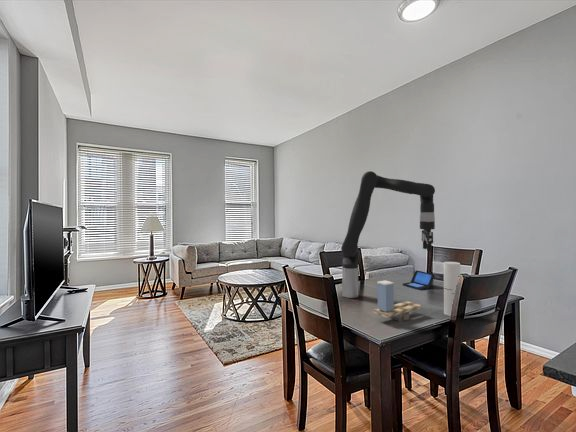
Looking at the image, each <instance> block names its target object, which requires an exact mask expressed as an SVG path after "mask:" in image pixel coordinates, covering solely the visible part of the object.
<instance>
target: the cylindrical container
mask: <svg viewBox="0 0 576 432" xmlns="http://www.w3.org/2000/svg"><path fill="white" fill-rule="evenodd" d="M442 264H443V314H444V315H445V316H449V317H451V316H450V315H451V310H452V304H453V299H454V295H455V290H456V285H457V280H458V276H459V275H460V276H461V263H460V262H458V261H444V262H443V263H442Z"/></svg>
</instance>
